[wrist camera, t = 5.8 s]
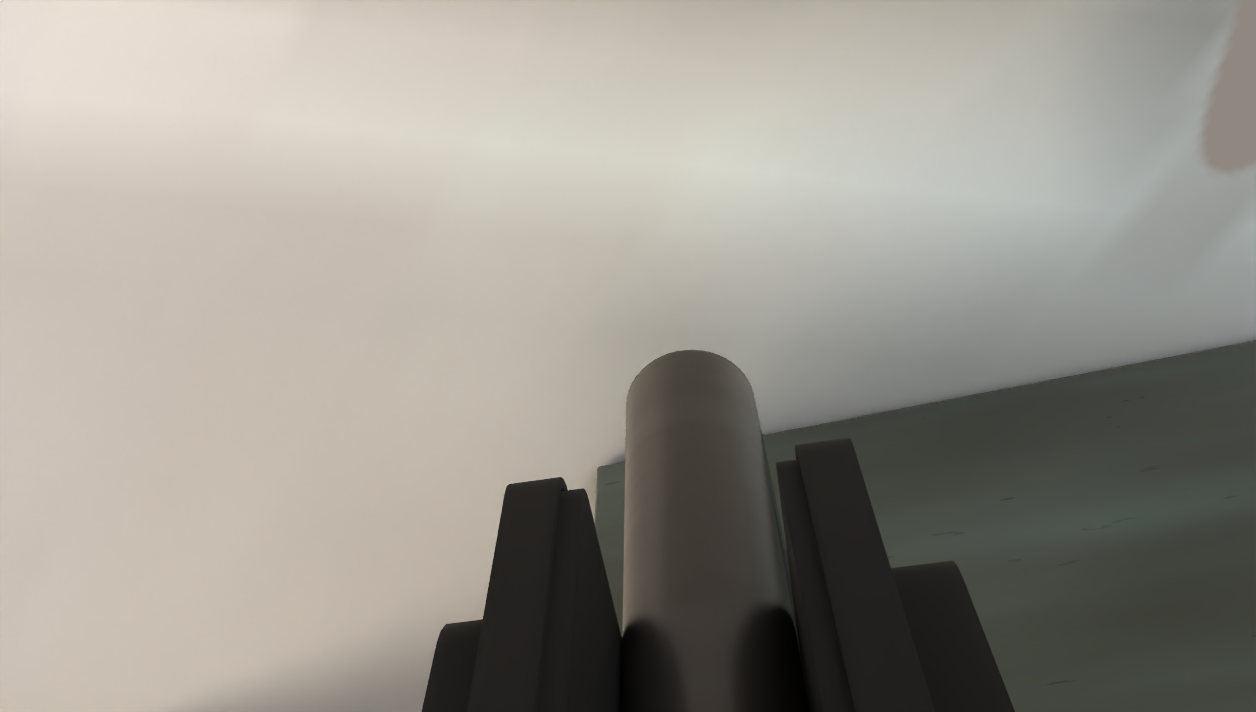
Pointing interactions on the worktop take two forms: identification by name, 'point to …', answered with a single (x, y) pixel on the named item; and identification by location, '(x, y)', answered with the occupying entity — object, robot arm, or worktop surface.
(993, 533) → the door
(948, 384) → the worktop surface
